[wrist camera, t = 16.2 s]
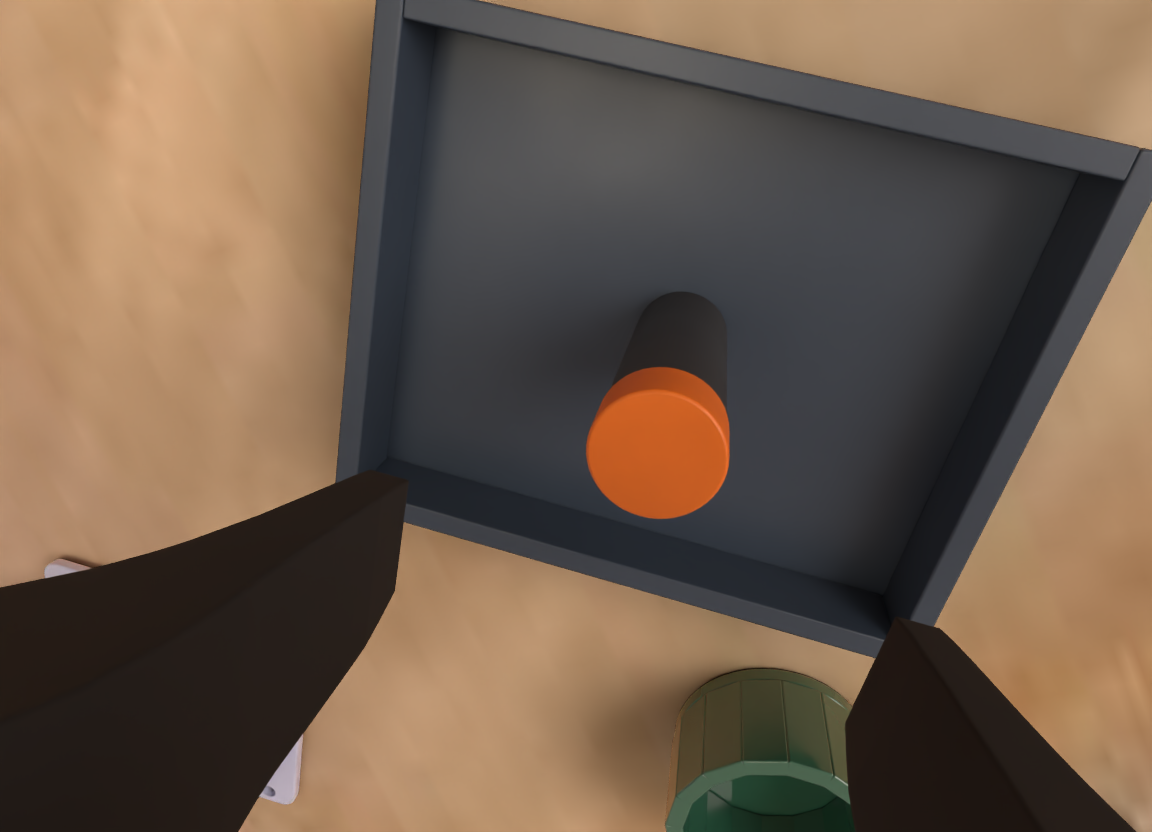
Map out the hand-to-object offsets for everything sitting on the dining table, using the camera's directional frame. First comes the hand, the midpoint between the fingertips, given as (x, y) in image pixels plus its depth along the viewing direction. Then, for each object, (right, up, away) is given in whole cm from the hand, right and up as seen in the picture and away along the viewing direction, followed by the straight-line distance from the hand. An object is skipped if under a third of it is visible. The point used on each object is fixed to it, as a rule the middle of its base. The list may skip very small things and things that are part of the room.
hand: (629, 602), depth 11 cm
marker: (+2, +5, +7) cm, 9 cm away
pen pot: (+5, -7, +12) cm, 15 cm away
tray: (+2, +5, +8) cm, 9 cm away
